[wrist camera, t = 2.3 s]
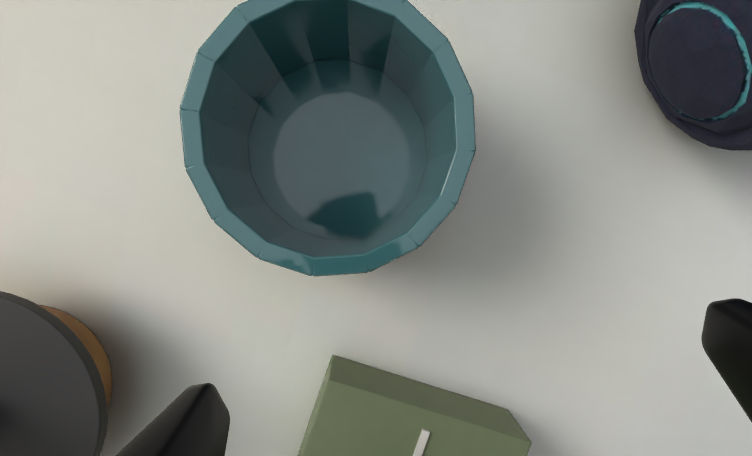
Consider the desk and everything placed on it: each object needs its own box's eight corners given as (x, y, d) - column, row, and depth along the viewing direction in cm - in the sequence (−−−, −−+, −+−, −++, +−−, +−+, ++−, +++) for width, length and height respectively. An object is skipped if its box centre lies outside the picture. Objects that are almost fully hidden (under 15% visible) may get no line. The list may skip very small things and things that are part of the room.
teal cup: (399, 276, 21) (419, 312, 15) (212, 214, 21) (142, 222, 14) (463, 91, 21) (515, 40, 14) (274, 21, 20) (232, -68, 13)
